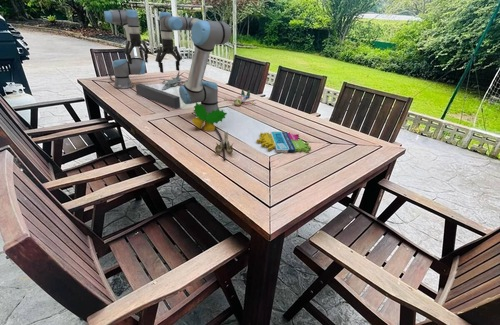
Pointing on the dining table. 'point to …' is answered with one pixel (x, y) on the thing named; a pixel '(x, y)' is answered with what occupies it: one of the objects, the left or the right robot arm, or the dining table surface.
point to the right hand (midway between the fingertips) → (170, 71)
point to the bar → (158, 96)
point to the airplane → (172, 82)
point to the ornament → (207, 117)
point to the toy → (241, 99)
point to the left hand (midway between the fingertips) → (138, 63)
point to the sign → (283, 142)
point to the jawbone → (224, 145)
